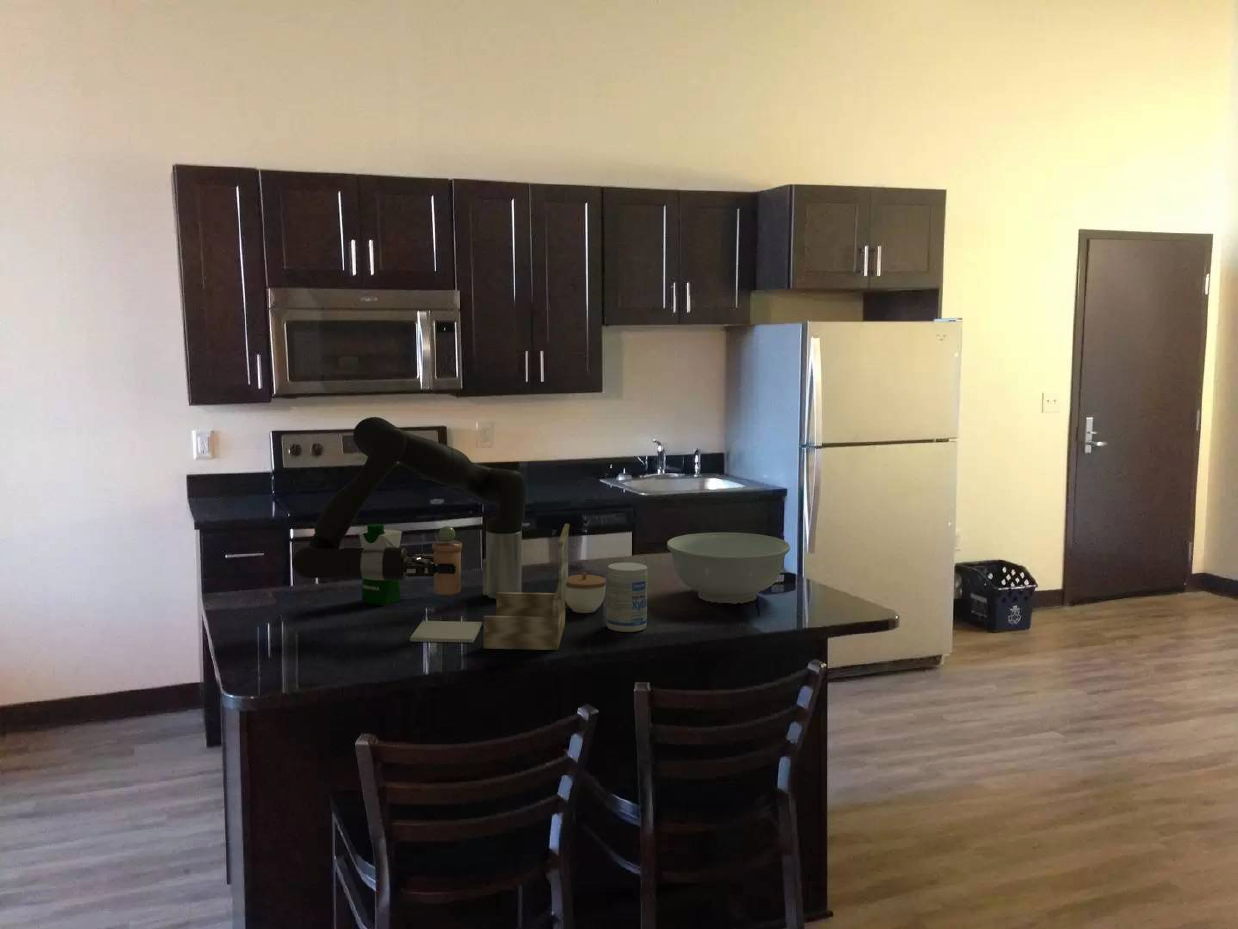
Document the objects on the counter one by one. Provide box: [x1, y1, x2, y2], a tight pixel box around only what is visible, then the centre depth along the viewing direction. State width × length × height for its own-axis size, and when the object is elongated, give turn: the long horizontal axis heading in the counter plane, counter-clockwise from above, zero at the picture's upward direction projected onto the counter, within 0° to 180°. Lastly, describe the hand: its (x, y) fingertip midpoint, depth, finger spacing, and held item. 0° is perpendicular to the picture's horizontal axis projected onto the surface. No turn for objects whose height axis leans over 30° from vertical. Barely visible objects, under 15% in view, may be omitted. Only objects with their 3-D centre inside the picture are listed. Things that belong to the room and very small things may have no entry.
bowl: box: [666, 532, 791, 605], centre depth 278 cm, size 32×32×15 cm
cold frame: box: [483, 523, 570, 651], centre depth 240 cm, size 17×22×24 cm
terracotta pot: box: [431, 525, 463, 595], centre depth 239 cm, size 7×7×15 cm
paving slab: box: [409, 620, 483, 643], centre depth 241 cm, size 14×14×1 cm
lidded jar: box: [565, 572, 607, 614], centre depth 263 cm, size 11×11×9 cm
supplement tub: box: [605, 562, 649, 633], centre depth 248 cm, size 10×10×15 cm
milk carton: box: [358, 523, 403, 607], centre depth 268 cm, size 9×9×20 cm
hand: (457, 565), depth 240 cm, fingers closed on terracotta pot, 6 cm apart
